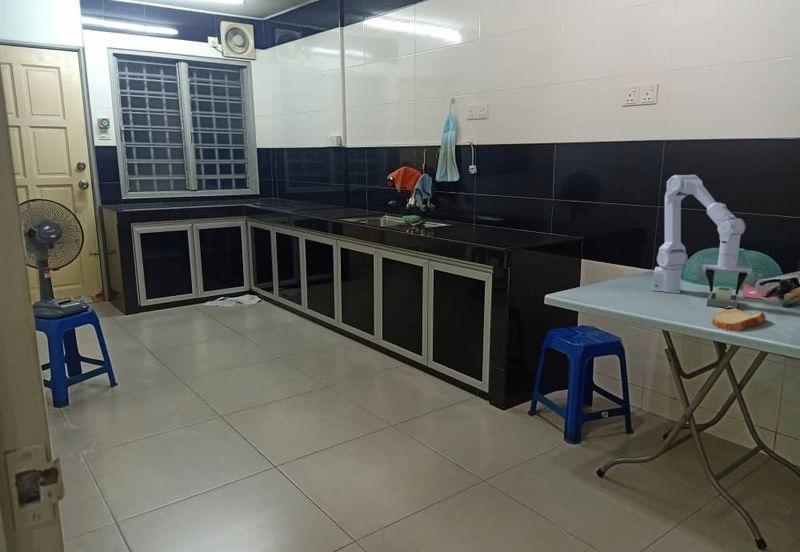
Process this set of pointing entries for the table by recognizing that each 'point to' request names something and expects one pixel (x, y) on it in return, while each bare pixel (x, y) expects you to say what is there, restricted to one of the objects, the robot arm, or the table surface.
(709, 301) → the grey rectangular tray
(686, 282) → the table surface
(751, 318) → the bread slice
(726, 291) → the small crate
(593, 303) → the table surface
